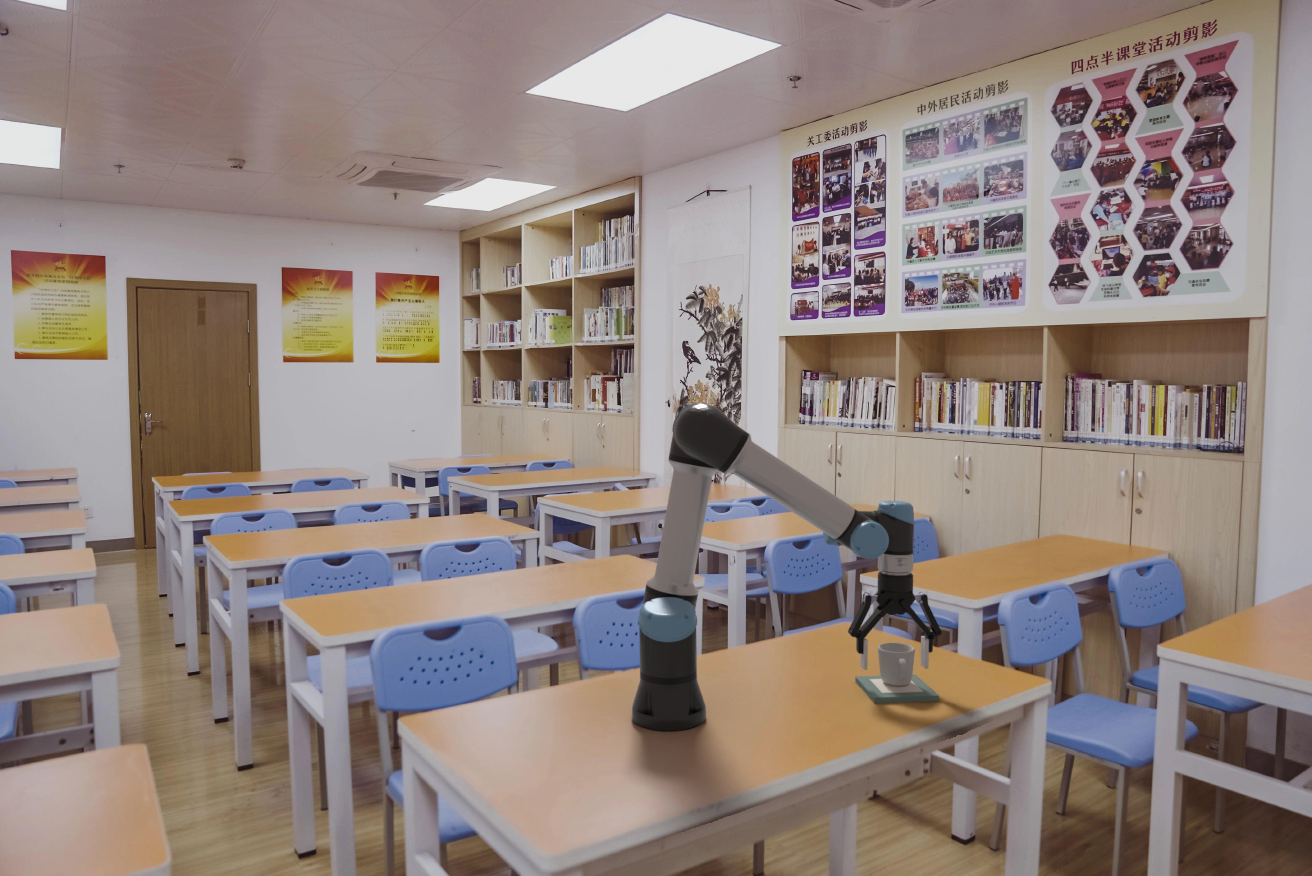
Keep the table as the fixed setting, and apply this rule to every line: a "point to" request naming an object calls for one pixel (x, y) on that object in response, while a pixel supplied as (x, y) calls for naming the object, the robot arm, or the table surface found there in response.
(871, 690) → the board
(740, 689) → the table surface
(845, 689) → the table surface
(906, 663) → the cup
